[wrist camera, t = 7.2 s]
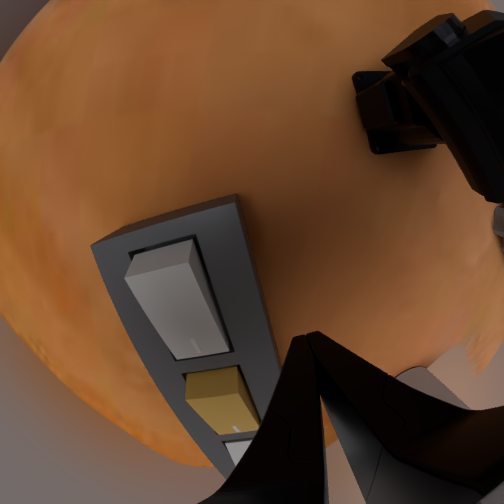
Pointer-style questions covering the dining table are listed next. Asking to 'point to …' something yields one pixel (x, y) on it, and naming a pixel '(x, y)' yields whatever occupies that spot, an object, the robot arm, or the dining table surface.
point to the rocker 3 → (237, 448)
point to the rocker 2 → (222, 400)
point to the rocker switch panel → (229, 299)
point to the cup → (429, 385)
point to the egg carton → (499, 224)
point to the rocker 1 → (179, 300)
